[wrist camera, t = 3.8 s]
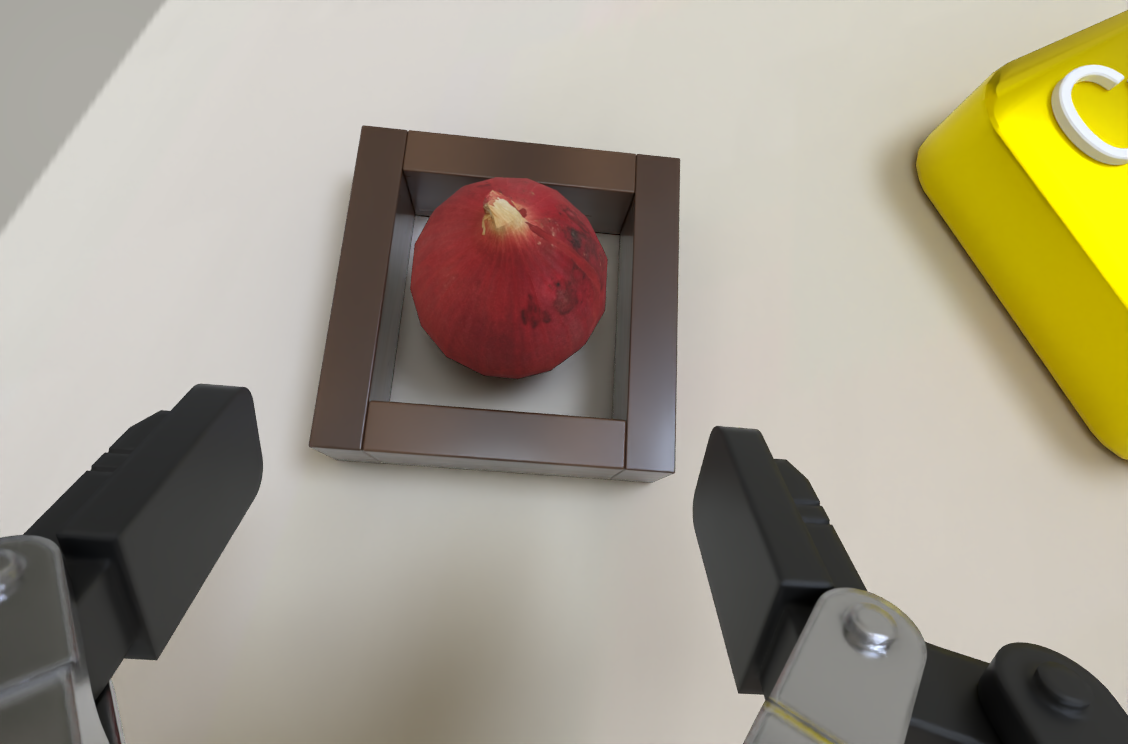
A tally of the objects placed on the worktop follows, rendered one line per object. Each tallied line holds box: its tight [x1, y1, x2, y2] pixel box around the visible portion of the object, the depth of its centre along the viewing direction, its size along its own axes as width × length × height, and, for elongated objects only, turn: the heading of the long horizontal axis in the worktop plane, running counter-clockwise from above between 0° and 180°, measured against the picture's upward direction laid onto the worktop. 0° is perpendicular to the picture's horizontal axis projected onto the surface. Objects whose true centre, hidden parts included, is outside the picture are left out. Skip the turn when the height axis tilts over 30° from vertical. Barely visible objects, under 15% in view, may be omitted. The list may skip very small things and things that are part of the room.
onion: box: [410, 177, 608, 379], centre depth 19 cm, size 6×6×8 cm
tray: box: [309, 126, 680, 482], centre depth 21 cm, size 11×11×3 cm
